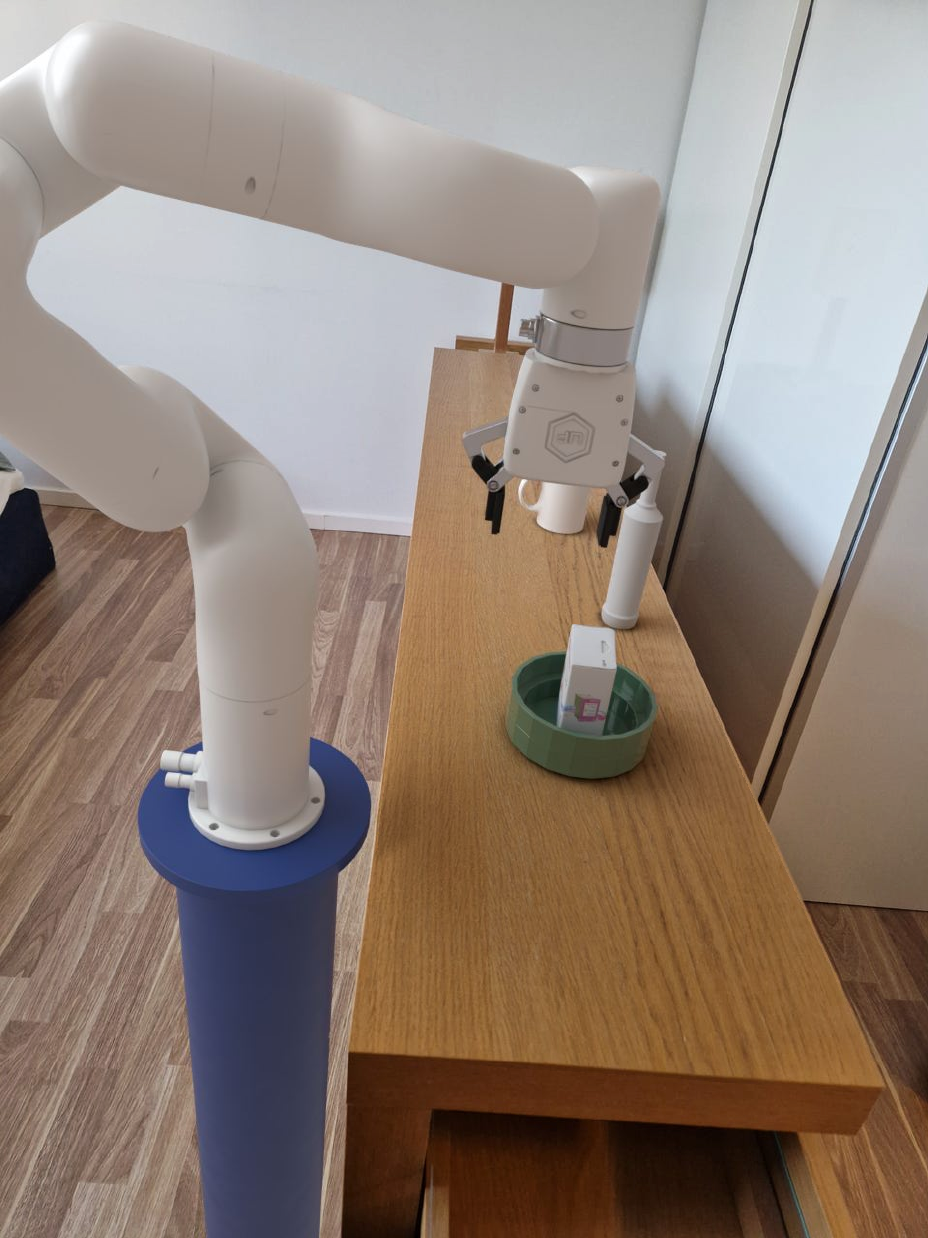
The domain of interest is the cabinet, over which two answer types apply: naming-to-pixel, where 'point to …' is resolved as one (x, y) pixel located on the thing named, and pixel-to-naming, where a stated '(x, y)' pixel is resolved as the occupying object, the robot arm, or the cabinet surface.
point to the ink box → (587, 680)
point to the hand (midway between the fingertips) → (548, 534)
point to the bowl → (569, 750)
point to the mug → (559, 506)
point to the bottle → (633, 558)
